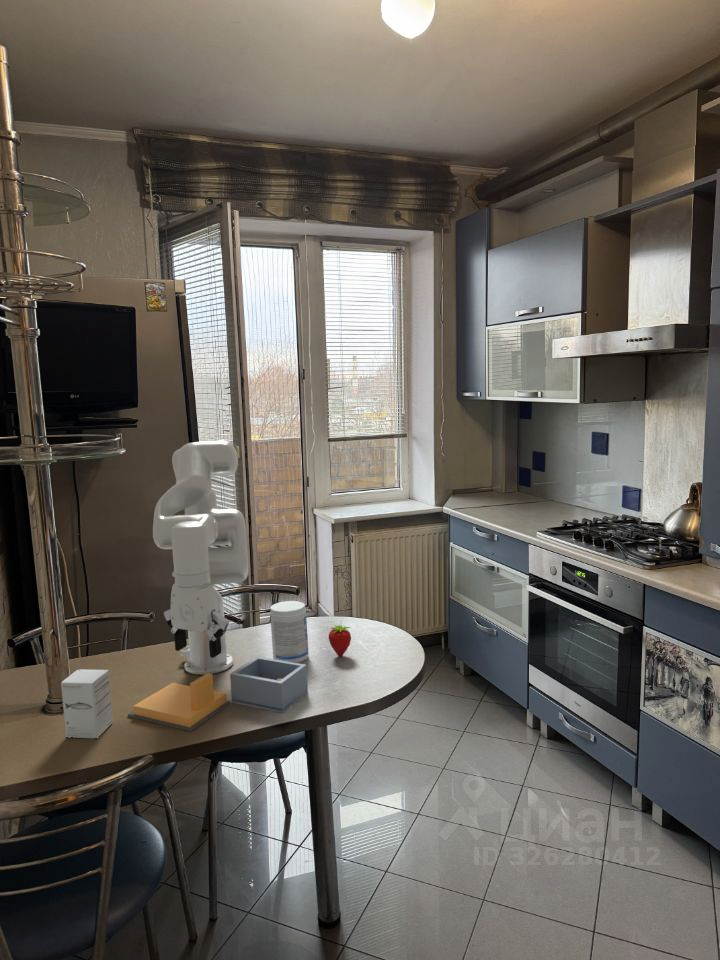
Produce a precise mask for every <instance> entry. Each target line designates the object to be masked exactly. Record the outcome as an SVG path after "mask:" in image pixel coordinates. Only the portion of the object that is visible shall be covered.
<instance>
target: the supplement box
mask: <svg viewBox="0 0 720 960" xmlns="http://www.w3.org/2000/svg"><path fill="white" fill-rule="evenodd" d="M60 685H61V696H62V697H61V698H62V706H63V708H62V709H63V717H64V729H65V738H66V737H68V738H69V739H70V738H71V737H73V738H72V739H74V738H77V739H78V738H79V739H94V738H97V739H99V738H100V737H101V736H100V735H101V734H102V733H103V732H104V731H105V730H106V729H107V728H108V727H109V726H110V725H111V724H112V725H113V723H114V720H113V706H112V695H111V694H112V693H111V683H110V670H109V669H77V670H75V671H74V672H73V673H71V674H70V675H69V676H68V677H66V678H65V679H64V680H62V681H61V683H60ZM112 725H111V726H112ZM111 726H110V727H111ZM110 727H109V728H110ZM109 728H108V729H109ZM108 729H107V730H108ZM105 732H106V731H105ZM105 732H104V733H105ZM104 733H103V734H104ZM103 734H102V735H103ZM99 736H100V737H99ZM68 738H67V739H68Z"/></svg>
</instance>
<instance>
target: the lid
mask: <svg viewBox="0 0 720 960" xmlns="http://www.w3.org/2000/svg"><path fill="white" fill-rule="evenodd" d="M213 677H214V675H213V674H209V673H207V674H205V675H201V676H200V677H198V678H196V679H195V680H194V681H192V682H190V683H189V685H186V684H182V683H176V682H171V683H170V684H168V685H166V686H165V687H163V688H161V689H160V690H158V691H156V692H154V693H152V694H150V696H149V695H148V696H147V697H146V698H144V699H142V700H141V701H139V702H138V703H136V704H134V705H133V706H132V707H133V709H132V710H133V711H134V714H135V715H140V716H144V717H148V718H152V719H157V720H161V721H165V722H169V723H174V724H178V725H182V726H186V727H191V726H192V725H194V724H195V723H197V722H198V721H200V720H201V719H203V718H204V717H205V716H207V715H208V714H210V713H211V712H213V711H214V710H216V709H217V708H218V707H220V706H221V705H223V704H224V703H226V702H227V700H228V698H227V693H226V692H222V691H216V690H215V689H214V678H213Z"/></svg>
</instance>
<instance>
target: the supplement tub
mask: <svg viewBox="0 0 720 960" xmlns="http://www.w3.org/2000/svg"><path fill="white" fill-rule="evenodd" d="M269 614H270V615H269V616H270V617H269V618H270V628H271V629H270V631H271V644H272V645H271V646H272V655H273V656H272V657H273V658H272V659H275V660H281V661H287V662H293V663H299V664H301V663H302V662H304V661H305V660H307V659H308V657H309V654H310V653H309V641H308V639H309V638H308V622H307V619H308V618H307V609H306V605H305V603H304V602H301V601H297V600H288V601H287V600H286V601H280V602H276V603H274V604H272V605H271V606H270V612H269Z"/></svg>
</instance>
